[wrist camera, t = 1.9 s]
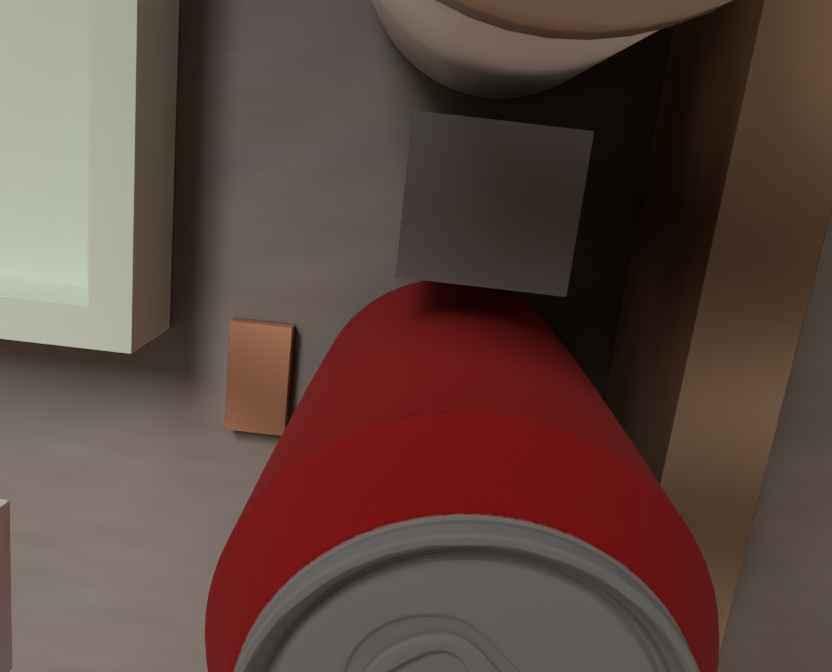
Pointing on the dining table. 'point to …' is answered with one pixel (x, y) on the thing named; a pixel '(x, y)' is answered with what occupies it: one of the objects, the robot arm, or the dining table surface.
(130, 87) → the tray
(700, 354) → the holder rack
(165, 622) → the dining table surface
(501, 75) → the ceramic jar
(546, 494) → the beverage can
